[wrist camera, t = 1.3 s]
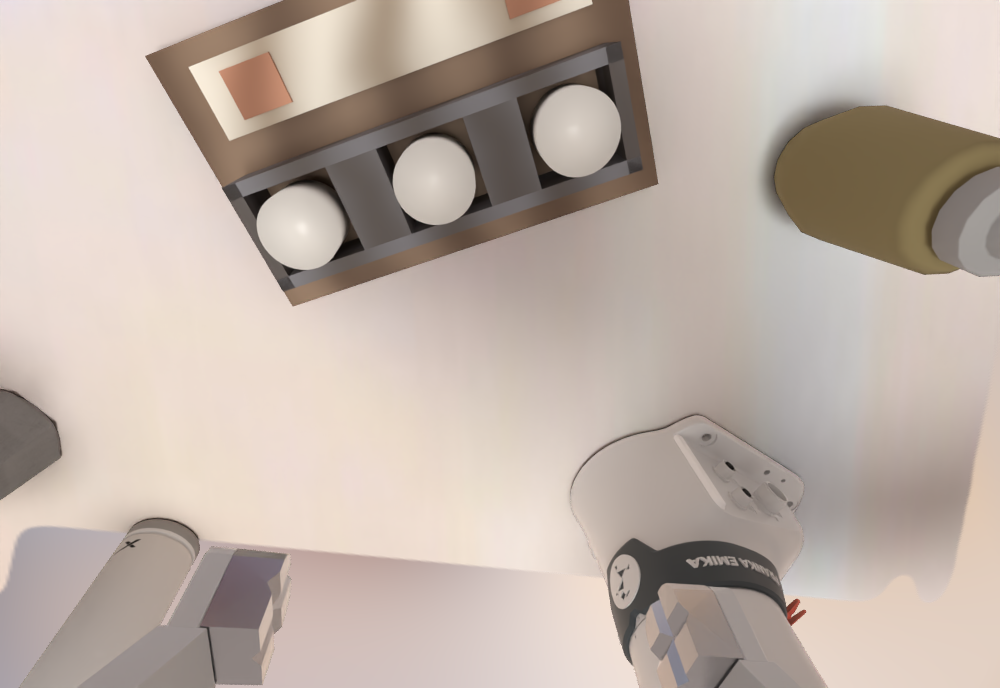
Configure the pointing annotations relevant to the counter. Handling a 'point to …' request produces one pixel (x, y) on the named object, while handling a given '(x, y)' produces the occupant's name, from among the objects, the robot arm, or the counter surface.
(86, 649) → the travel mug
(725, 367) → the counter surface
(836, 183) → the squeeze bottle
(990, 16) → the counter surface
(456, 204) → the button middle
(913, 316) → the counter surface
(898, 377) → the counter surface
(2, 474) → the coffeepot
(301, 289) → the button board
